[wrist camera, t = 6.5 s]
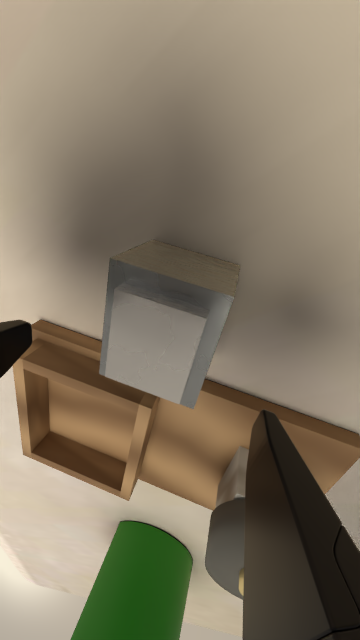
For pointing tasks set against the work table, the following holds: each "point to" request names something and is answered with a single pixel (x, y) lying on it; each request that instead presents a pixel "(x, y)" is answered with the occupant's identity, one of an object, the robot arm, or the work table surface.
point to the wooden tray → (152, 427)
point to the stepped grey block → (165, 318)
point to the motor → (138, 588)
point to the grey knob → (227, 546)
